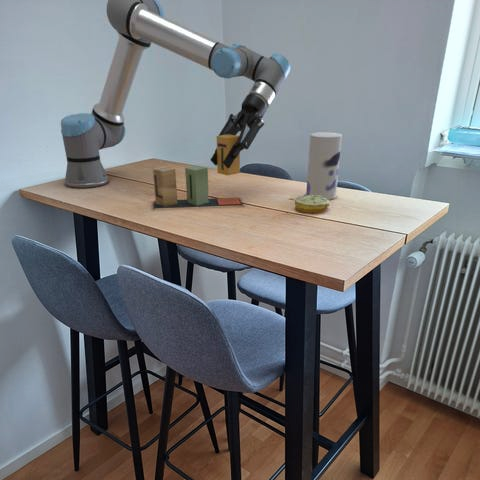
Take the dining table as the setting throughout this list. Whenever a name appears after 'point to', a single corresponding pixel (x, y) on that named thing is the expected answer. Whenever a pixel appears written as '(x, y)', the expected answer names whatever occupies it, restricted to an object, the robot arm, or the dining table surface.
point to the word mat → (211, 203)
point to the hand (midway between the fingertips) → (219, 164)
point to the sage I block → (197, 185)
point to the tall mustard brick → (222, 151)
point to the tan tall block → (165, 186)
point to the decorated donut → (311, 203)
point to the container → (323, 164)
